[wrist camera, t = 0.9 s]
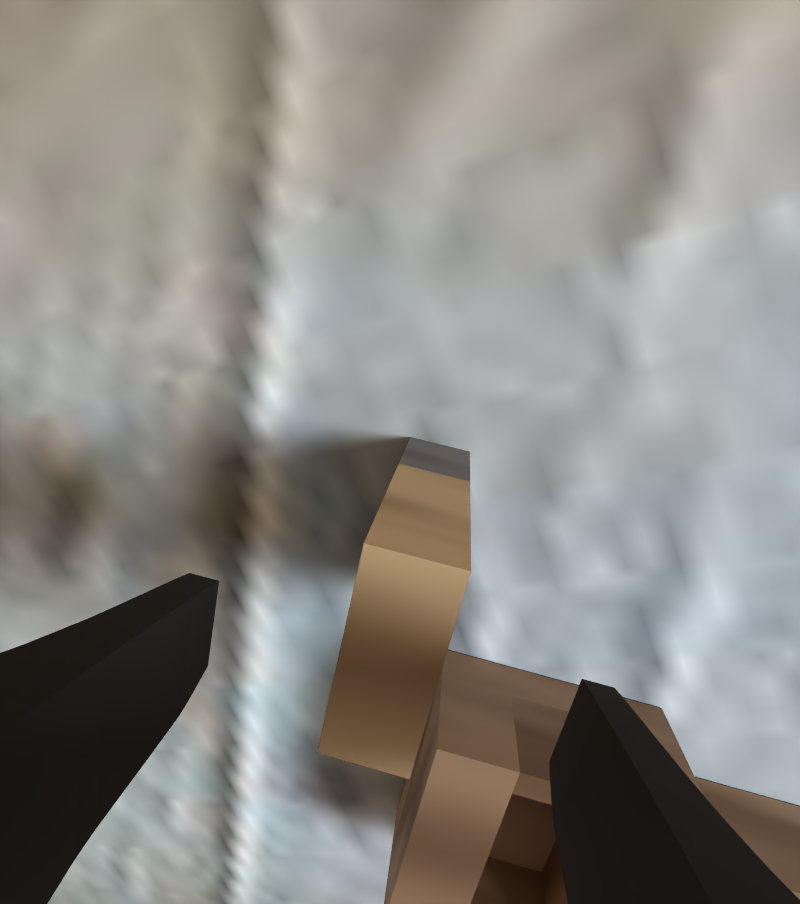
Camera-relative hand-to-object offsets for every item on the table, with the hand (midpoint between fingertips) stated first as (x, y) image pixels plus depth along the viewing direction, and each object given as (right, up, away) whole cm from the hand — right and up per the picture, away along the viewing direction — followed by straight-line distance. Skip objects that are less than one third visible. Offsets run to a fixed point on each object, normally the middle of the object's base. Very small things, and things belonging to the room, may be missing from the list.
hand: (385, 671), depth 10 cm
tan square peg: (+1, +2, +8) cm, 8 cm away
